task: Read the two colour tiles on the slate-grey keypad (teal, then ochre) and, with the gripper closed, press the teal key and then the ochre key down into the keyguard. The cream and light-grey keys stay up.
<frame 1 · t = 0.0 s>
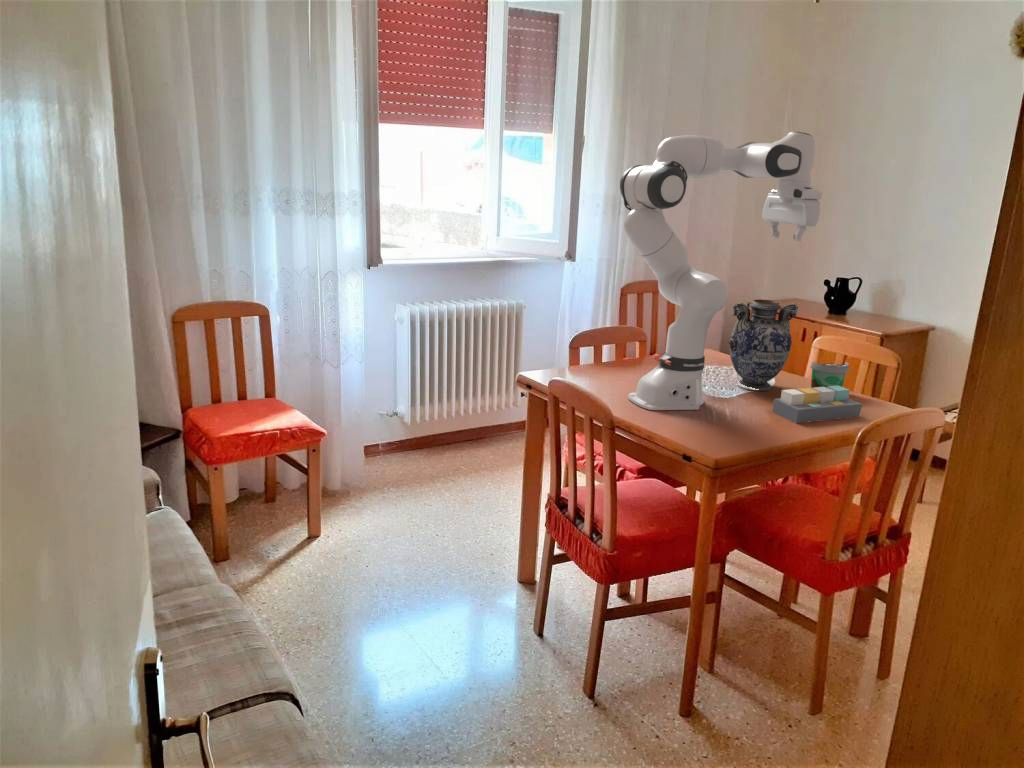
hand: (785, 239, 222), 48 cm above the table, tool pointing down, fingers open, 8 cm apart
ochre key: (807, 396, 217), point 5 cm above the table, slide at 0.0 cm
teal key: (837, 393, 221), point 5 cm above the table, slide at 0.0 cm
food container: (829, 395, 238), on the table
keypad: (815, 414, 218), on the table
cream key: (792, 397, 215), point 5 cm above the table, slide at 0.0 cm
grey key: (822, 395, 219), point 5 cm above the table, slide at 0.0 cm
decorative vase: (754, 386, 243), on the table
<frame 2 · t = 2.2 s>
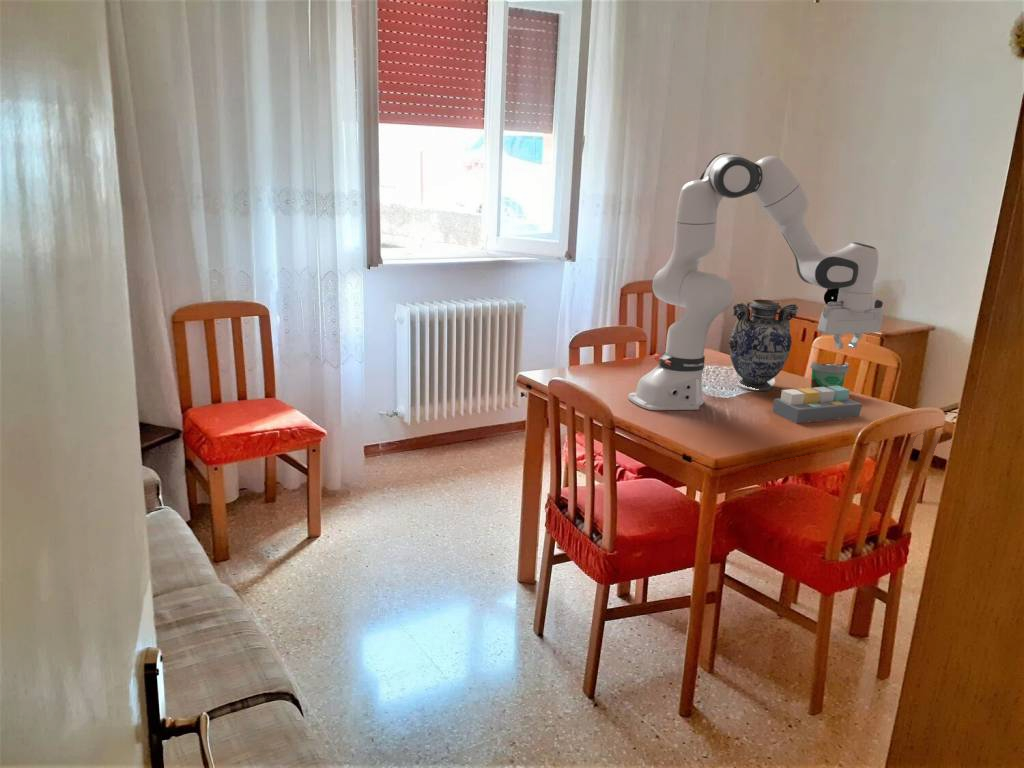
hand: (845, 348, 216), 19 cm above the table, tool pointing down, fingers open, 4 cm apart
nothing on the table moved.
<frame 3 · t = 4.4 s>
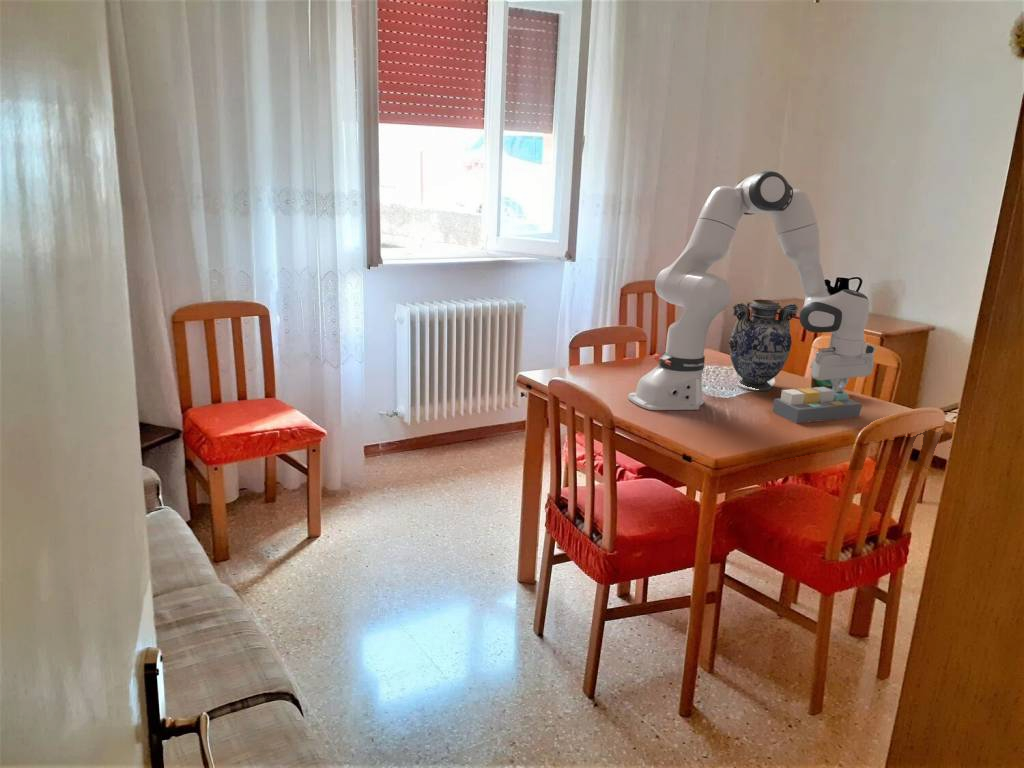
hand: (837, 392, 221), 6 cm above the table, tool pointing down, fingers closed
teal key: (836, 398, 221), point 4 cm above the table, slide at 1.4 cm, touching gripper
everything else where it was.
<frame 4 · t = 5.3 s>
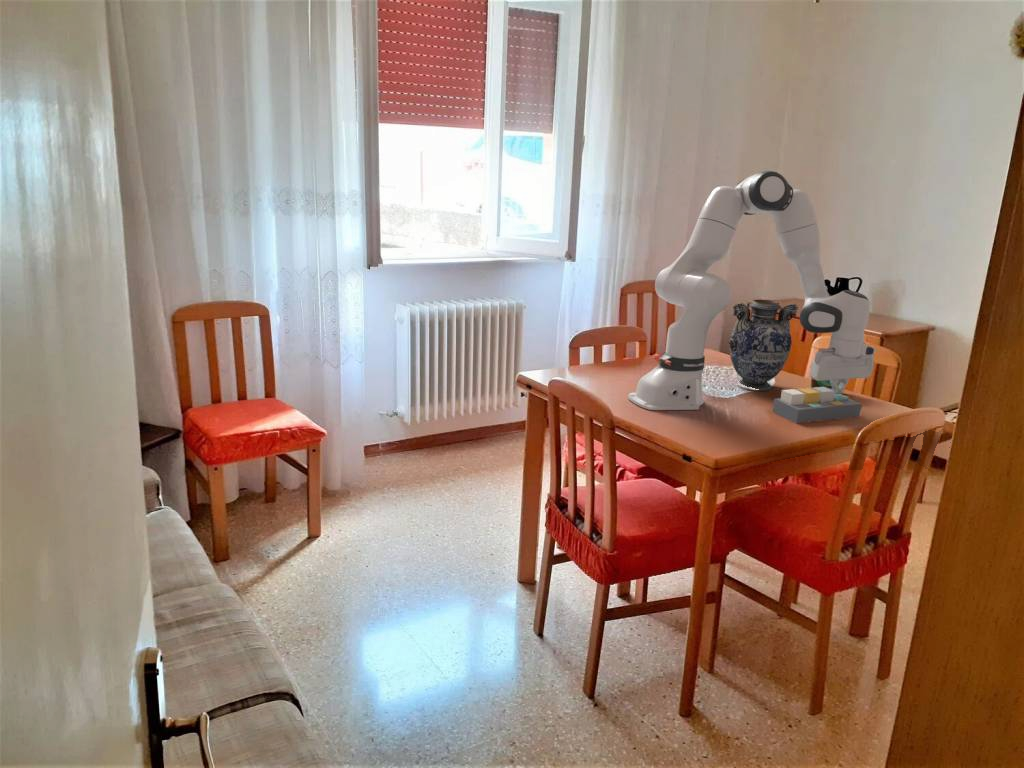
hand: (837, 393, 220), 6 cm above the table, tool pointing down, fingers closed
teal key: (835, 401, 221), point 3 cm above the table, slide at 2.3 cm
everything else where it was.
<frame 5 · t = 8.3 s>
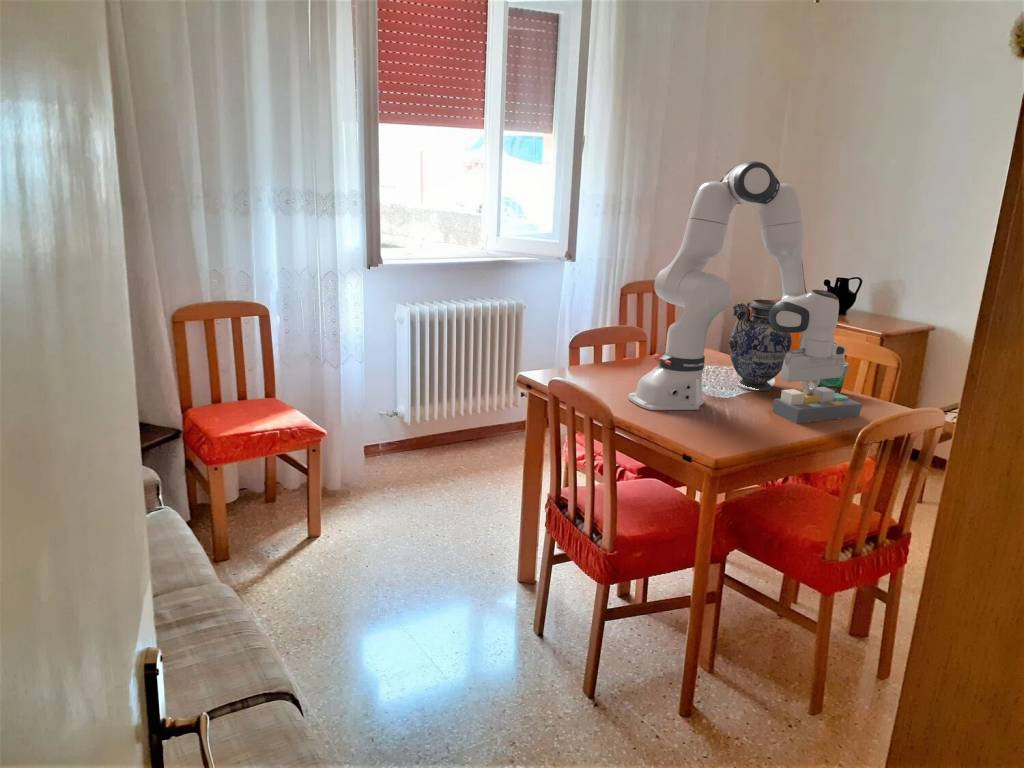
hand: (808, 393, 217), 6 cm above the table, tool pointing down, fingers closed, pressing on ochre key
ochre key: (806, 400, 217), point 4 cm above the table, slide at 1.2 cm, touching gripper
everything else where it was.
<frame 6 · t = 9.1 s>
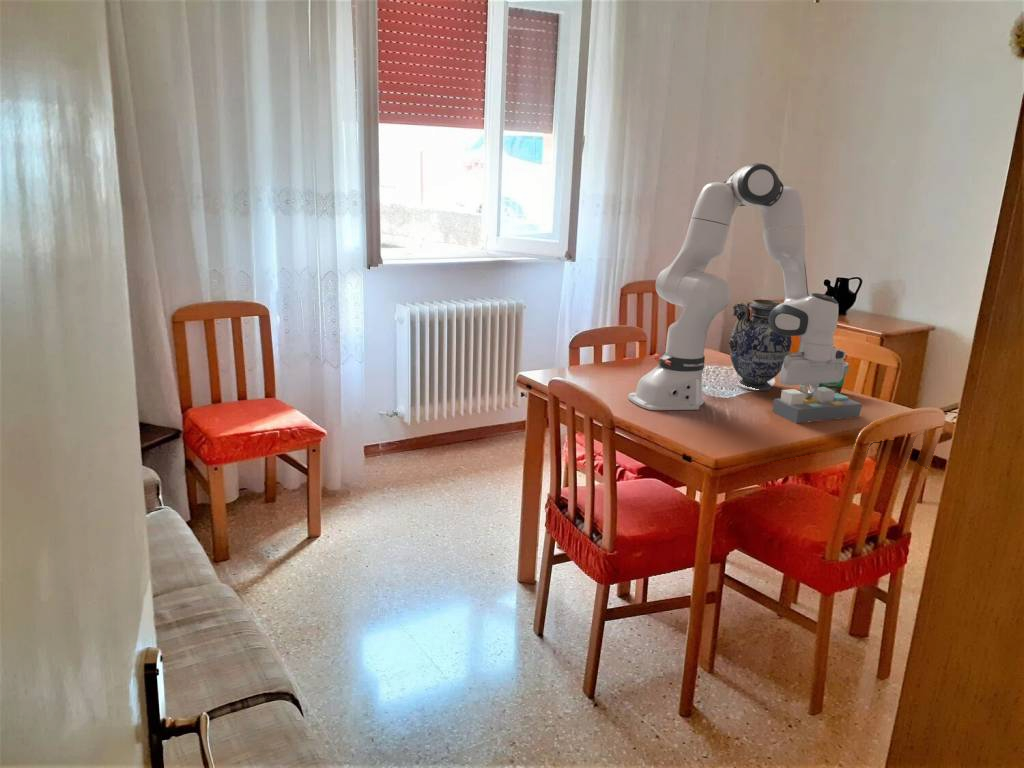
hand: (807, 397, 217), 5 cm above the table, tool pointing down, fingers closed
ochre key: (806, 403, 217), point 3 cm above the table, slide at 2.3 cm
everything else where it was.
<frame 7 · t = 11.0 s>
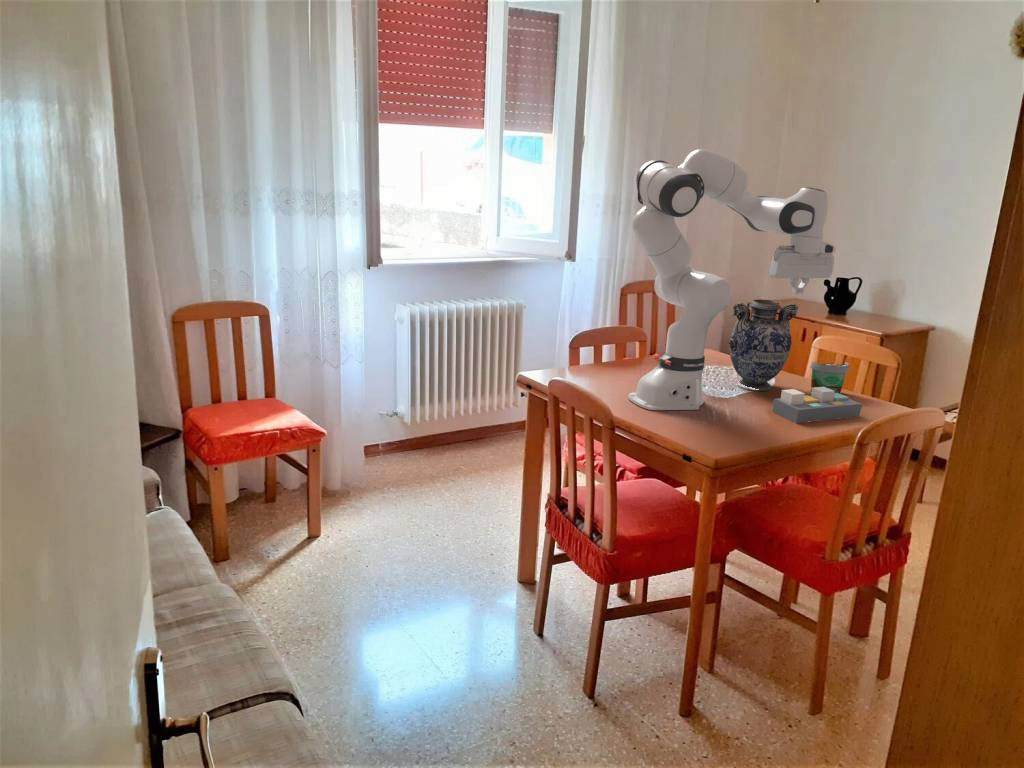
hand: (797, 293, 220), 33 cm above the table, tool pointing down, fingers closed
nothing on the table moved.
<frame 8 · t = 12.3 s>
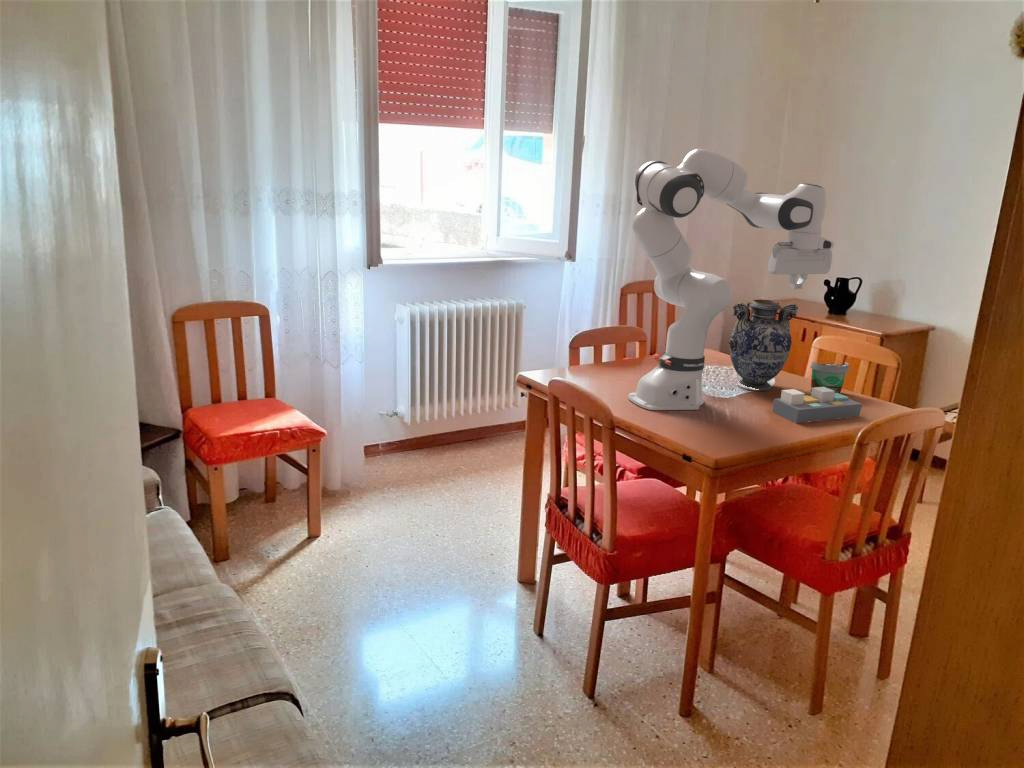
hand: (795, 289, 221), 34 cm above the table, tool pointing down, fingers closed
nothing on the table moved.
at the end: teal key slide at 2.3 cm; ochre key slide at 2.3 cm; grey key slide at 0.0 cm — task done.
